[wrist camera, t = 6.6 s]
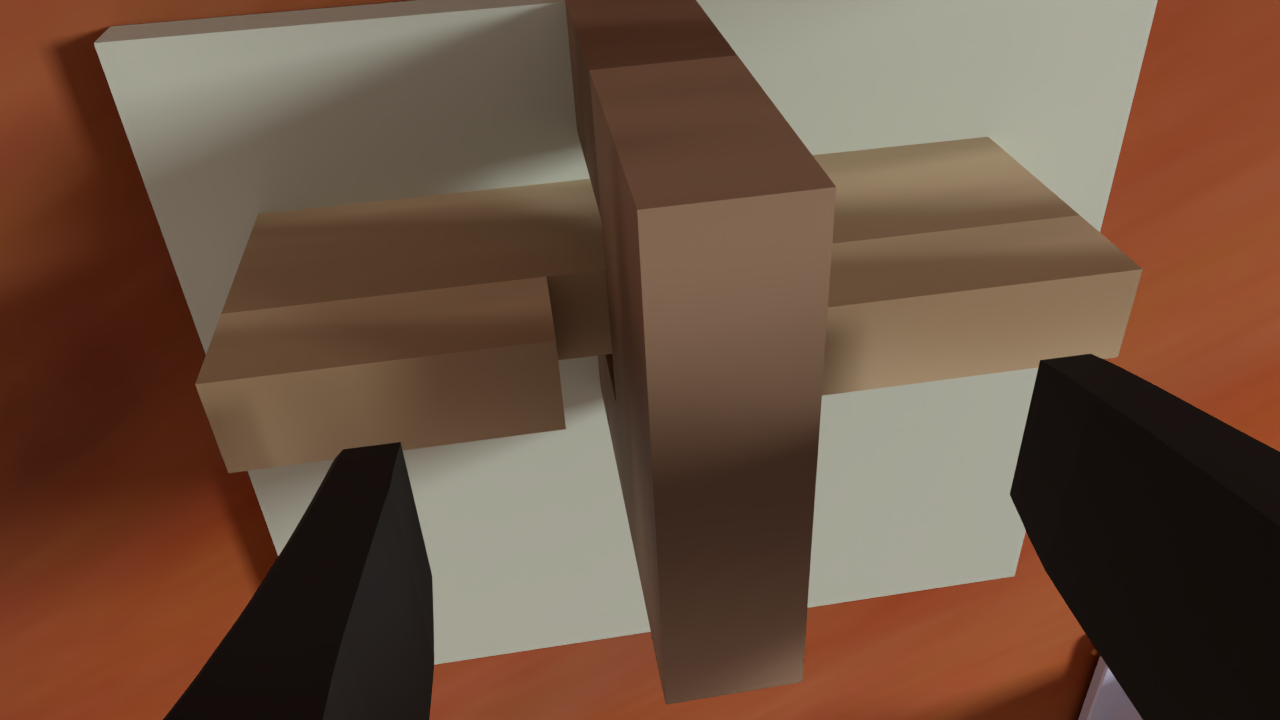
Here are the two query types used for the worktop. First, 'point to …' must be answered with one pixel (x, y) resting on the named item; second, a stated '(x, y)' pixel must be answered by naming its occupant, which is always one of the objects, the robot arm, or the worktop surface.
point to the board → (551, 152)
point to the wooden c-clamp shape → (707, 335)
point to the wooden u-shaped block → (579, 314)
